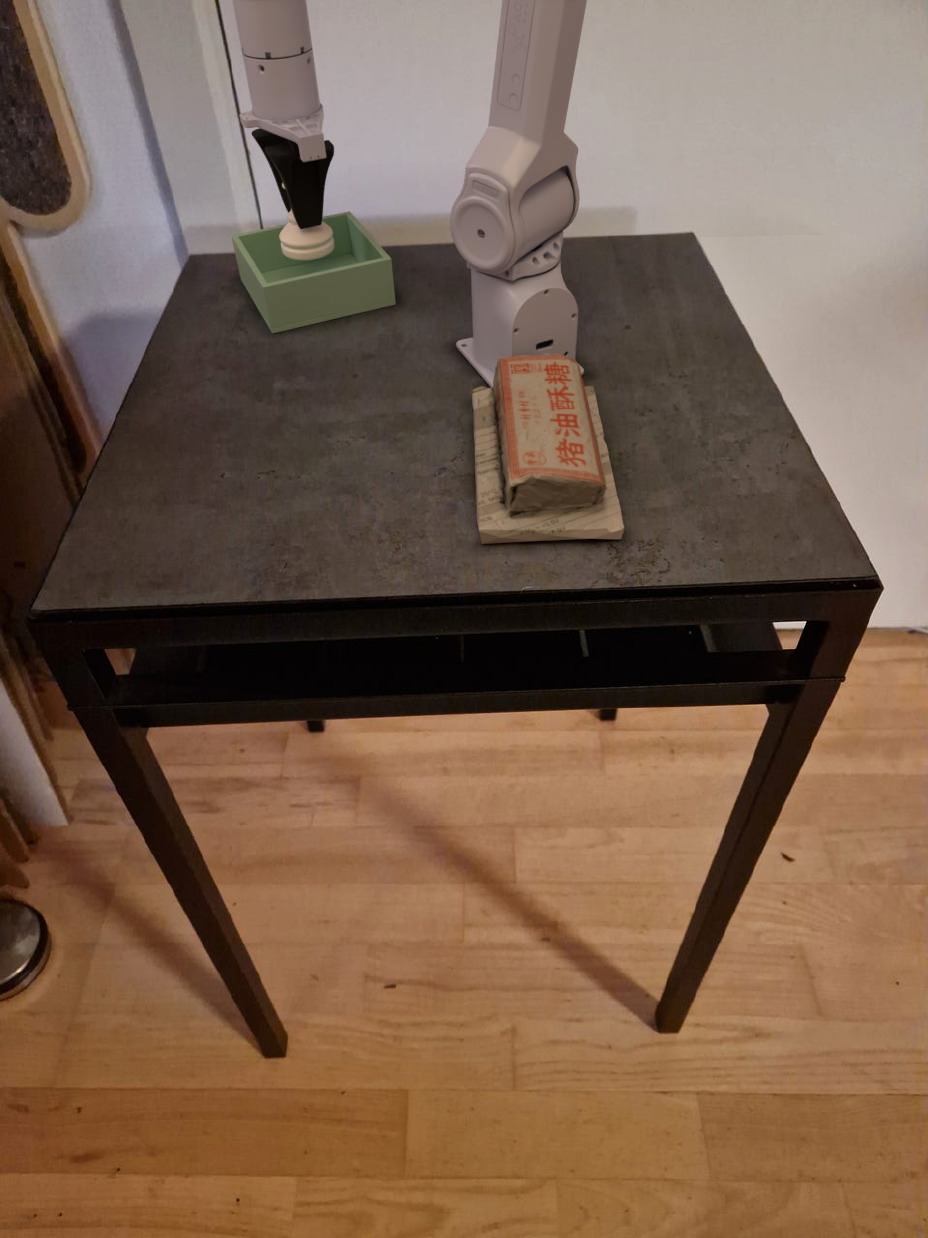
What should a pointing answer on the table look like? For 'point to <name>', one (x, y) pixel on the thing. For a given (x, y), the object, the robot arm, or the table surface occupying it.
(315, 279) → the open green box
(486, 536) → the packaged product
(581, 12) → the robot arm
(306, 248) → the chess pawn
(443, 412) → the table surface
